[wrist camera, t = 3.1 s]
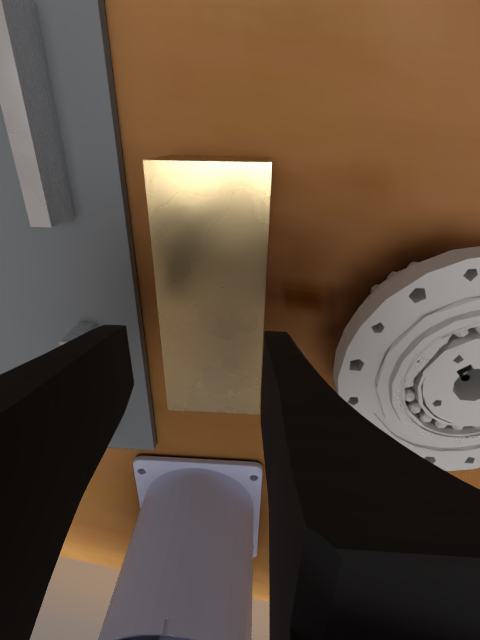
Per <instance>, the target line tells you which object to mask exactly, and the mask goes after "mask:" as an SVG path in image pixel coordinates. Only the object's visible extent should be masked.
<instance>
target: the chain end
mask: <svg viewBox="0 0 480 640" xmlns="http://www.w3.org/2000/svg"><path fill="white" fill-rule="evenodd" d="M0 105H1V109H2V113H3V117H4V121H5V125H6V129H7V133H8V137H9V141H10V145H11V149H12V153H13V157H14V162H15V166H16V170H17V174H18V178H19V182H20V186H21V190H22V194H23V198H24V202H25V206H26V210H27V214H28V218H29V222H30V226H31V227H54V226H56V225H58V224H61V223H63V222H66V221H68V220H70V219H73V218H75V217H76V213H75V208H74V202H73V197H72V192H71V186H70V181H69V176H68V170H67V165H66V160H65V154H64V149H63V143H62V138H61V133H60V127H59V122H58V117H57V111H56V106H55V101H54V95H53V90H52V85H51V79H50V74H49V68H48V63H47V58H46V52H45V47H44V42H43V36H42V31H41V26H40V20H39V15H38V10H37V4H36V3H35V2H34V1H32V0H0Z"/></svg>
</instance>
